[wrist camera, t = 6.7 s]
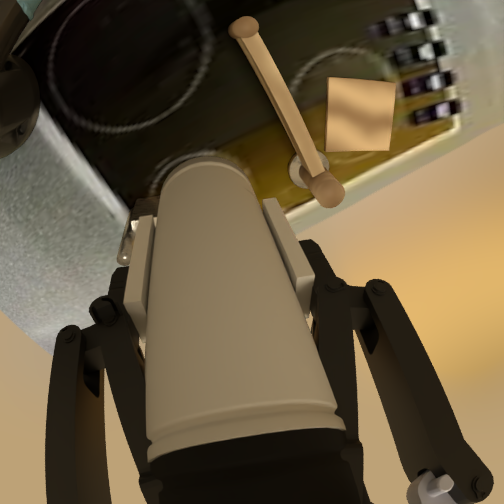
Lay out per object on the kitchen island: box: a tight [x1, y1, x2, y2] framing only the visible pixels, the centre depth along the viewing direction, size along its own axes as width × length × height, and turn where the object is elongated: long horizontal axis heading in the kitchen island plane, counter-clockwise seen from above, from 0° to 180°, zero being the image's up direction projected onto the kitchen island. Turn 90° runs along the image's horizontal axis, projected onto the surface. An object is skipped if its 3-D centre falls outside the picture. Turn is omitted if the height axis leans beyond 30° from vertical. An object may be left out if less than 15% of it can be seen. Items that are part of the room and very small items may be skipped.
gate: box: [228, 16, 345, 208], centre depth 33 cm, size 4×25×8 cm, turn 27°
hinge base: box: [288, 149, 329, 188], centre depth 43 cm, size 6×6×1 cm
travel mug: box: [145, 156, 371, 504], centre depth 13 cm, size 6×7×20 cm
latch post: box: [117, 195, 160, 266], centre depth 39 cm, size 3×7×11 cm, turn 92°
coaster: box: [324, 77, 396, 152], centre depth 39 cm, size 11×11×1 cm
